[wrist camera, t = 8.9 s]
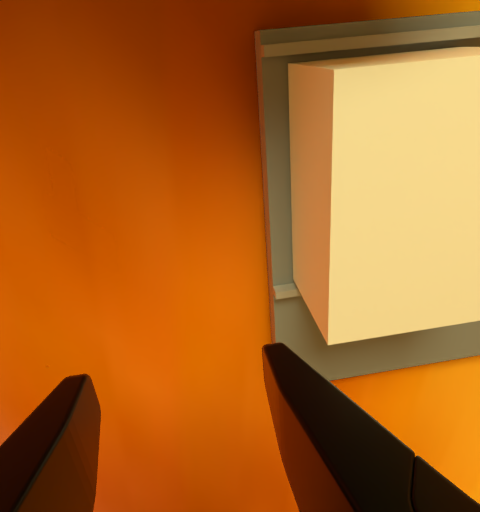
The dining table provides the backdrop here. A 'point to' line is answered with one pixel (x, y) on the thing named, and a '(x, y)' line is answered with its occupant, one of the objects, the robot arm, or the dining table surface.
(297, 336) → the base plate
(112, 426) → the dining table surface
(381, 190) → the cover
